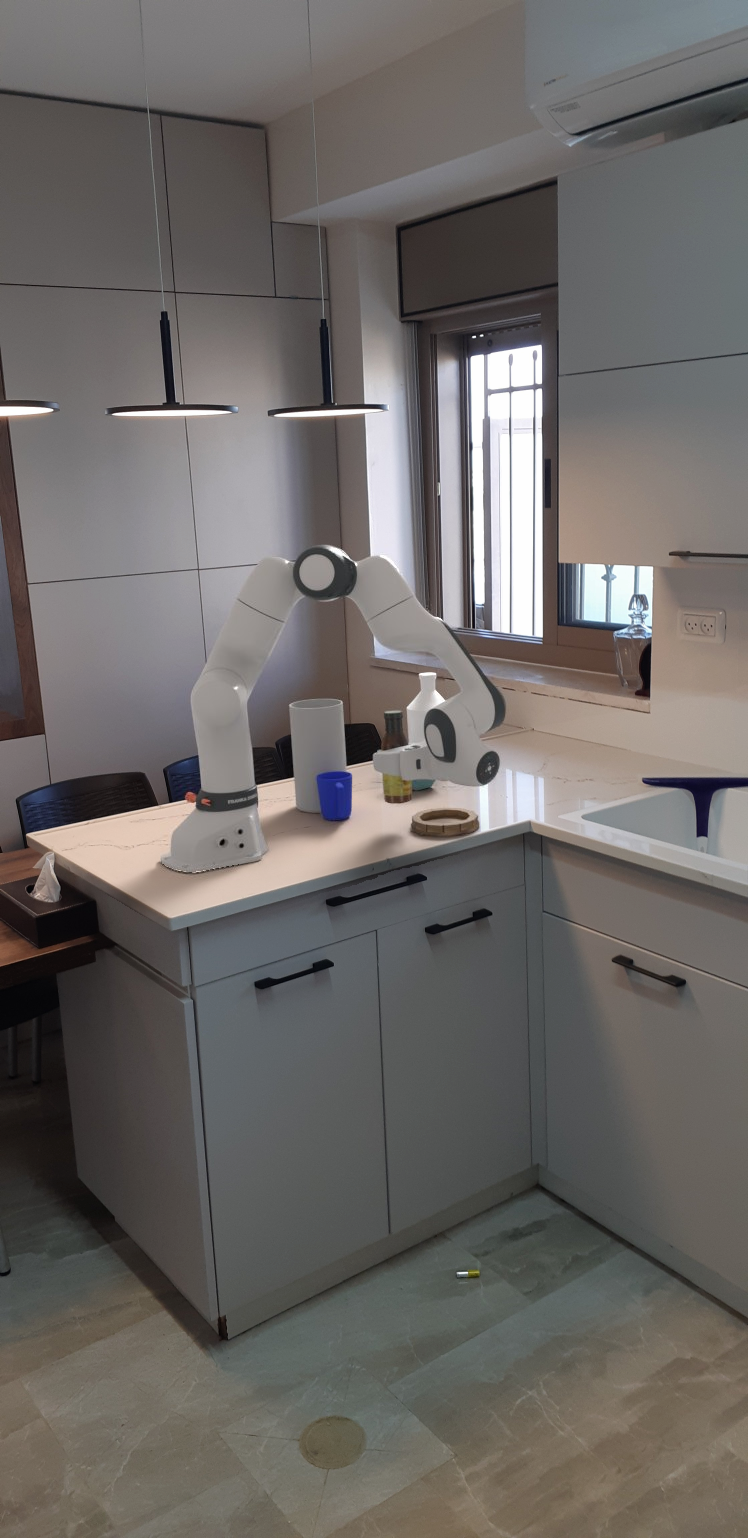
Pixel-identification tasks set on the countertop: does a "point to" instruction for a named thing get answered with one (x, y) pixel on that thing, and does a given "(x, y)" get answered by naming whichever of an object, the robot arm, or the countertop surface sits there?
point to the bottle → (422, 707)
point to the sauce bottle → (393, 738)
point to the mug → (335, 794)
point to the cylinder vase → (315, 746)
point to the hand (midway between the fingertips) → (393, 750)
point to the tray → (444, 822)
